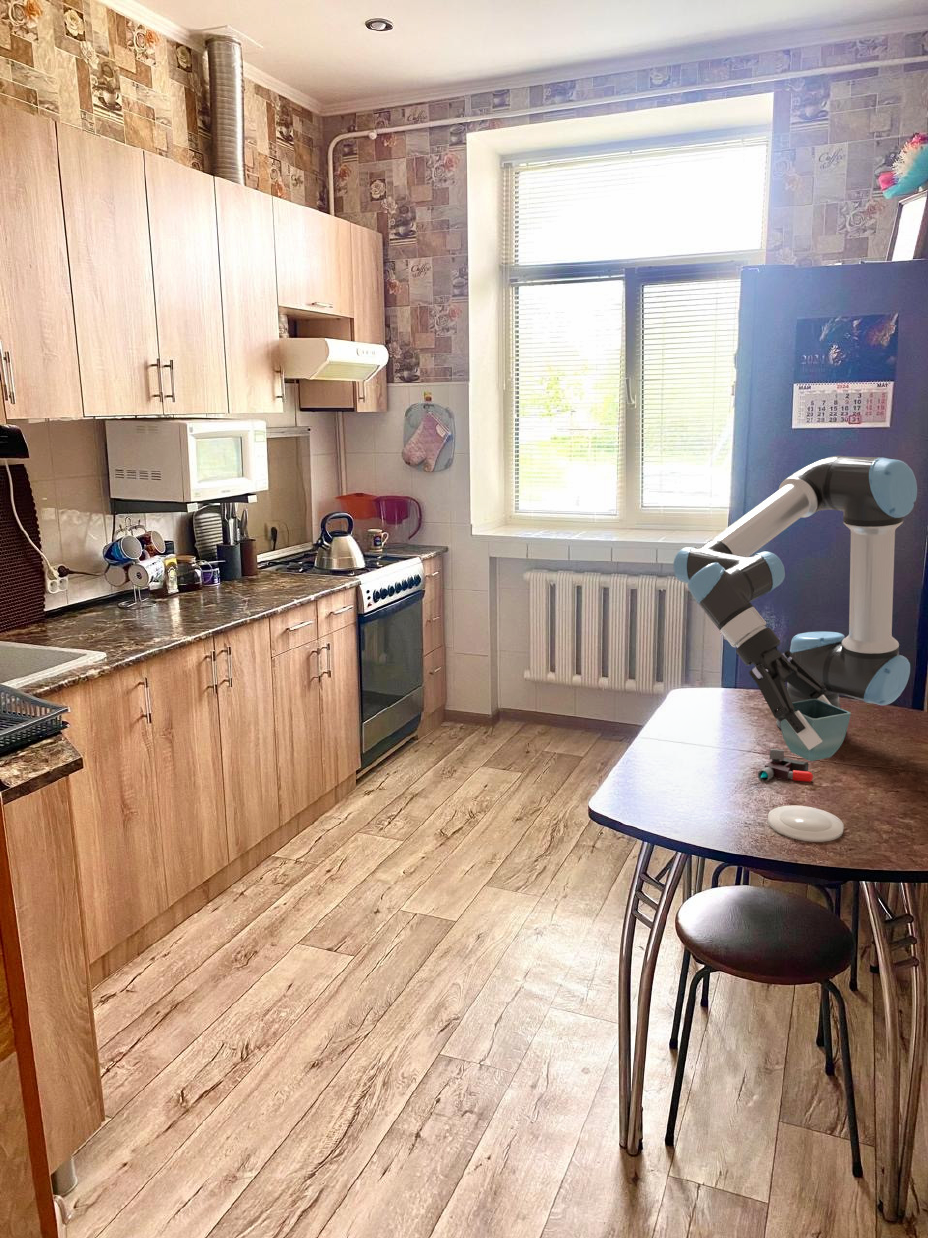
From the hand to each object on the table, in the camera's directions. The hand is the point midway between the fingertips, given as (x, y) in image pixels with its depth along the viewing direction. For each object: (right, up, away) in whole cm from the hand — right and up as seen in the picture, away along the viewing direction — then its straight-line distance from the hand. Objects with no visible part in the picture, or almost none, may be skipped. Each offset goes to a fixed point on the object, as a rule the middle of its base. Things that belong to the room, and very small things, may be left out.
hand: (828, 736), depth 164 cm
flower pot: (-2, -4, +3) cm, 5 cm away
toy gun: (+3, -12, +28) cm, 31 cm away
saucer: (-2, -17, +6) cm, 18 cm away
